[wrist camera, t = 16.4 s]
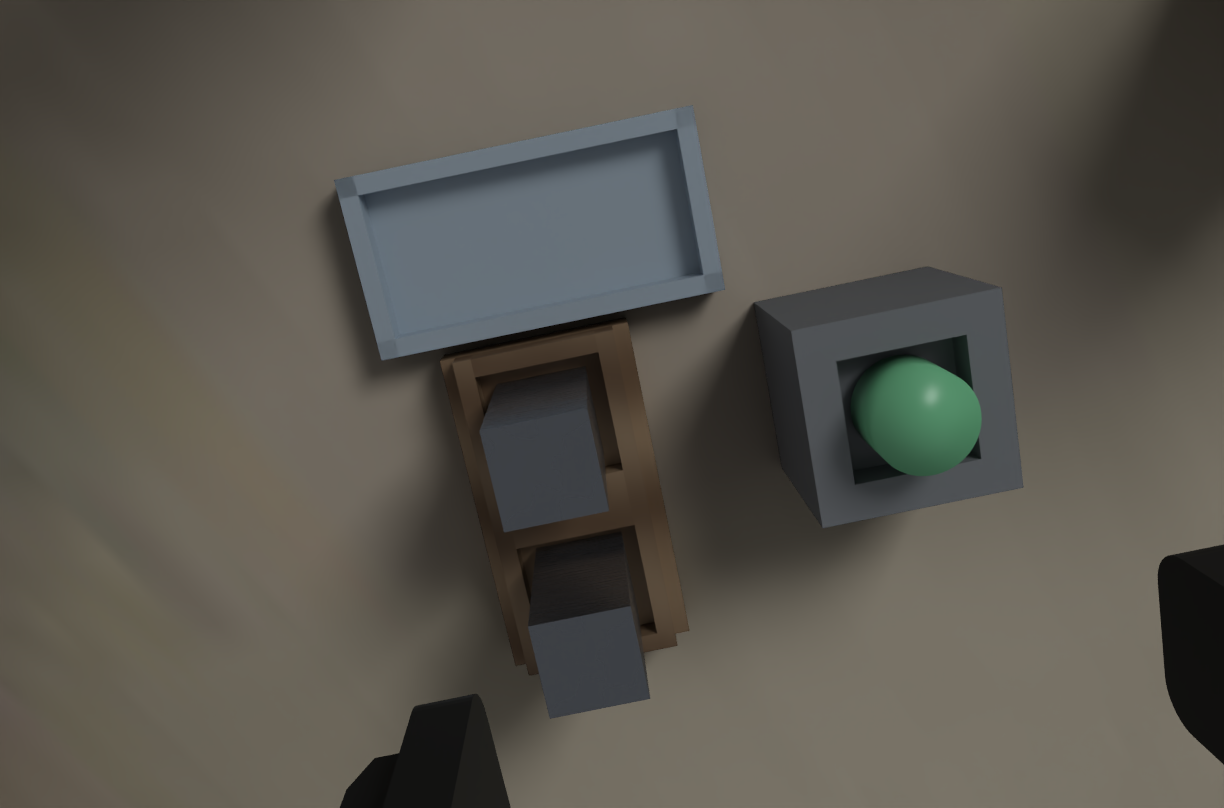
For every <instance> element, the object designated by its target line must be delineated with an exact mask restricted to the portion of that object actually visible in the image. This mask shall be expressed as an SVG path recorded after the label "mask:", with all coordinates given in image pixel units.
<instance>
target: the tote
mask: <svg viewBox="0 0 1224 808" xmlns="http://www.w3.org/2000/svg"><path fill="white" fill-rule="evenodd" d="M334 182H335V185H336V189H337V193H338V197H339V201H340V204H341V208H342V212H343V216H344V220H345V223H346V227H347V231H348V235H349V239H350V242H351V246H352V250H353V254H354V258H355V261H356V265H357V269H358V273H359V277H360V280H361V284H362V288H363V292H364V296H365V299H366V303H367V307H368V311H369V315H370V318H371V322H372V326H373V330H374V333H375V337H376V341H377V345H378V349H379V352H380V356H381V360H387V359H392V358H397V357H401V356H406V355H411V354H416V353H421V352H426V351H430V350H435V349H440V348H445V347H450V346H455V345H460V344H464V343H469V342H474V341H479V340H484V339H489V338H493V337H498V336H503V335H508V334H513V333H518V332H522V331H527V330H532V329H537V328H542V327H547V326H551V325H556V324H561V323H566V322H571V321H576V320H581V319H585V318H590V317H595V316H600V315H605V314H610V313H614V312H619V311H624V310H629V309H634V308H639V307H643V306H648V305H653V304H658V303H663V302H668V301H672V300H677V299H682V298H687V297H692V296H697V295H702V294H706V293H711V292H716V291H721V290H725V286H724V281H723V275H722V269H721V264H720V258H719V252H718V247H717V241H716V235H715V230H714V224H713V218H712V212H711V207H710V201H709V195H708V190H707V184H706V178H705V173H704V167H703V161H702V156H701V150H700V144H699V138H698V133H697V127H696V121H695V116H694V110H693V105H691V106H686V107H681V108H676V109H672V110H667V111H662V112H657V113H653V114H648V115H643V116H638V117H633V118H629V119H624V120H619V121H614V122H610V123H605V124H600V125H595V126H590V127H586V128H581V129H576V130H571V131H567V132H562V133H557V134H552V135H547V136H543V137H538V138H533V139H528V140H524V141H519V142H514V143H509V144H504V145H500V146H495V147H490V148H485V149H481V150H476V151H471V152H466V153H461V154H457V155H452V156H447V157H442V158H438V159H433V160H428V161H423V162H418V163H414V164H409V165H404V166H399V167H395V168H390V169H385V170H380V171H375V172H371V173H366V174H361V175H356V176H352V177H347V178H342V179H337V180H334Z"/></svg>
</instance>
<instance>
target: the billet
mask: <svg viewBox="0 0 1224 808" xmlns="http://www.w3.org/2000/svg"><path fill="white" fill-rule="evenodd" d="M528 629H529V633H530V638H531V642H532V646H533V650H534V654H535V659H536V663H537V667H538V671H539V675H540V679H541V684H542V688H543V692H544V696H545V700H546V704H547V709H548V713H549V717H550V718H555V717H560V716H565V715H570V714H575V713H581V712H586V711H591V710H596V709H601V708H606V707H611V706H616V705H621V704H626V703H631V702H636V701H641V700H646V699H650V694H649V687H648V680H647V672H646V665H645V658H644V651H643V643H642V636H641V629H640V621H639V614H638V608H637V603H636V598H635V594H634V589H633V584H632V579H631V575H630V570H629V565H628V560H627V555H626V551H625V546H624V541H623V536H622V532H621V531H620V532H615V533H610V534H605V535H600V536H595V537H590V538H585V539H580V540H575V541H570V542H565V543H560V544H555V545H550V546H545V547H540V548H536V555H535V564H534V574H533V583H532V592H531V602H530V611H529V621H528Z"/></svg>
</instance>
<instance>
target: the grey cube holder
mask: <svg viewBox="0 0 1224 808" xmlns="http://www.w3.org/2000/svg"><path fill="white" fill-rule="evenodd" d="M754 306H755V312H756V318H757V324H758V330H759V336H760V342H761V348H762V354H763V360H764V365H765V371H766V377H767V383H768V389H769V395H770V401H771V407H772V413H773V419H774V425H775V430H776V436H777V442H778V448H779V454H780V460H781V466H782V469H783V470H784V472H785V473H786V475H787V476H788V478H789V479H790V481H791V482H792V484H793V485H794V487H795V488H796V490H797V491H798V493H799V494H800V495H801V497H802V498H803V500H804V501H805V503H806V504H807V506H808V507H809V509H810V510H811V512H812V513H813V515H814V516H815V518H816V519H817V520H818V522H819V523H820V525H821V526H822V528H826V527H831V526H836V525H841V524H846V523H851V522H856V521H861V520H866V519H871V518H876V517H880V516H885V515H890V514H895V513H900V512H905V511H910V510H915V509H920V508H925V507H930V506H935V505H940V504H944V503H949V502H954V501H959V500H964V499H969V498H974V497H979V496H984V495H989V494H994V493H999V492H1004V491H1009V490H1013V489H1018V488H1023V479H1022V470H1021V461H1020V452H1019V442H1018V433H1017V424H1016V415H1015V406H1014V396H1013V387H1012V378H1011V369H1010V359H1009V350H1008V341H1007V332H1006V323H1005V313H1004V304H1003V295H1002V287H998V286H995V285H991V284H988V283H984V282H981V281H977V280H974V279H970V278H967V277H963V276H960V275H956V274H953V273H949V272H946V271H942V270H939V269H935V268H932V267H923V268H918V269H913V270H908V271H903V272H899V273H894V274H889V275H884V276H879V277H874V278H869V279H865V280H860V281H855V282H850V283H845V284H840V285H836V286H831V287H826V288H821V289H816V290H811V291H806V292H802V293H797V294H792V295H787V296H782V297H777V298H773V299H768V300H763V301H758V302H754ZM907 354H908V355H915V356H919V357H922V358H924V359H927V360H928V361H930V362H932V363H934V364H936V365H937V366H939V367H941V368H943V369H945V370H947V371H948V372H950V373H952V374H954V375H956V376H957V377H959V378H961V379H962V380H963V381H964V382H966V383H967V384H968V385H969V386H970V387H971V389H972V390H973V392H974V393H975V395H976V397H977V399H978V401H979V404H980V409H981V417H982V421H981V429H980V433H979V436H978V439H977V441H976V443H975V445H974V447H973V448H972V450H971V451H970V453H969V454H968V455H967V456H966V457H965V458H964V459H963V460H962V461H961V462H960V463H959V464H957V465H956V466H955V467H953V468H951V469H949V470H948V471H945V472H943V473H940V474H936V475H931V476H914V475H909V474H906V473H903V472H901V471H899V470H897V469H895V468H894V467H892V466H891V465H890V464H888V463H887V462H886V461H885V460H884V459H883V458H882V457H881V456H880V455H879V454H878V453H877V452H876V451H875V450H874V449H873V448H872V447H871V446H870V445H868V444H867V443H866V442H865V441H864V440H863V439H862V438H861V436H860V435H859V434H858V432H857V430H856V429H855V427H854V424H853V421H852V417H851V409H850V408H851V398H852V394H853V391H854V388H855V386H856V384H857V382H858V381H859V379H860V377H861V376H862V375H863V374H864V373H865V371H867V370H868V369H869V368H870V367H871V366H872V365H874V364H875V363H877V362H879V361H880V360H882V359H885V358H887V357H891V356H894V355H907Z"/></svg>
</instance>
